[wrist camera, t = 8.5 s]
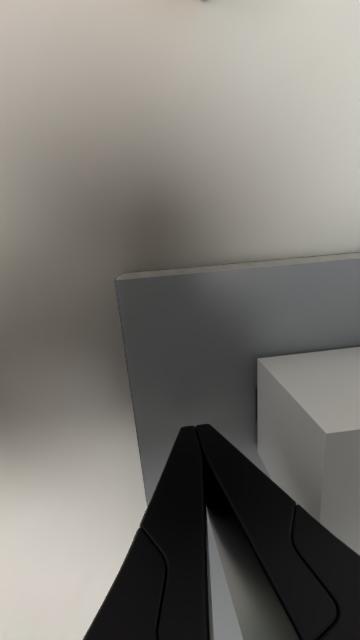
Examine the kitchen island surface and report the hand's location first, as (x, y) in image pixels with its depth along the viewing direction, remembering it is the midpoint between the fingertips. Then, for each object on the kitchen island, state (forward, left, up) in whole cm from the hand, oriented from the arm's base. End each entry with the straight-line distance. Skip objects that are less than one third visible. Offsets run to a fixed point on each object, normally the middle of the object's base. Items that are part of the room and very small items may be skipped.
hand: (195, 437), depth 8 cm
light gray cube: (-4, 0, -1) cm, 4 cm away
